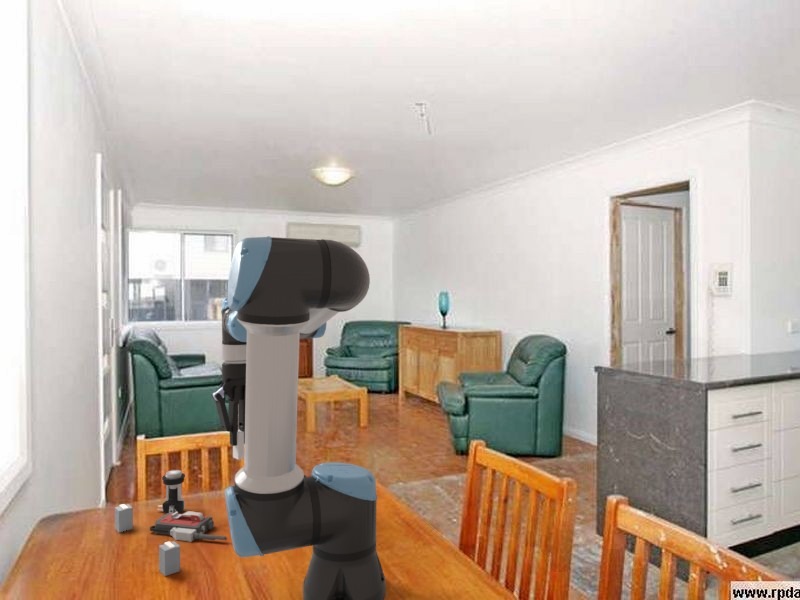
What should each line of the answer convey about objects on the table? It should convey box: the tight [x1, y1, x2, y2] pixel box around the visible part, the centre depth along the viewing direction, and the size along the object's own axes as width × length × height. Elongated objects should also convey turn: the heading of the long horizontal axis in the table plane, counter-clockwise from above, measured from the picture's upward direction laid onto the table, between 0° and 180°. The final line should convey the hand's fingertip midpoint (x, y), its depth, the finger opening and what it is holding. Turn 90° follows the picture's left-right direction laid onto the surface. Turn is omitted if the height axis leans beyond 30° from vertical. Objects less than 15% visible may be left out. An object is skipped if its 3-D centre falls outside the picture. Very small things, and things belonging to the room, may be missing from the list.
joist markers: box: [114, 503, 181, 577], centre depth 121 cm, size 30×3×5 cm, turn 44°
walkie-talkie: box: [149, 510, 228, 543], centre depth 128 cm, size 9×4×20 cm
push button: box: [157, 469, 186, 514], centre depth 141 cm, size 7×5×10 cm
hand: (238, 457), depth 136 cm, fingers closed
